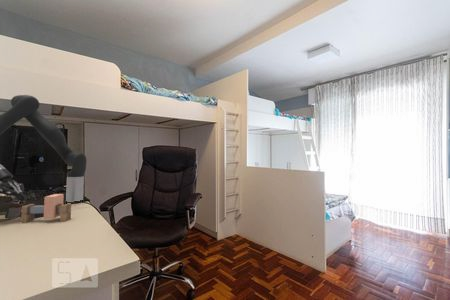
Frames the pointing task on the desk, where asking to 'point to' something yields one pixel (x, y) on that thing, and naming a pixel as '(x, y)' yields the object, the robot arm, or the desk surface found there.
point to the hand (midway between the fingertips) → (24, 200)
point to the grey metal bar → (41, 209)
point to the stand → (64, 213)
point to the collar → (52, 205)
